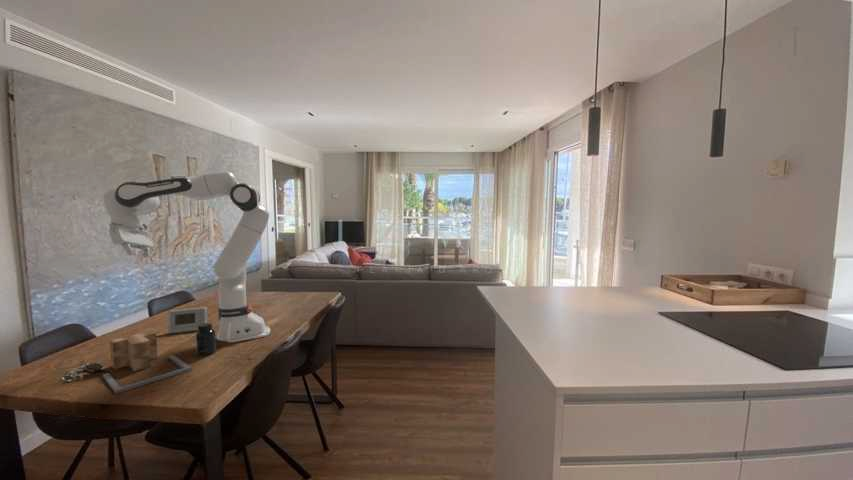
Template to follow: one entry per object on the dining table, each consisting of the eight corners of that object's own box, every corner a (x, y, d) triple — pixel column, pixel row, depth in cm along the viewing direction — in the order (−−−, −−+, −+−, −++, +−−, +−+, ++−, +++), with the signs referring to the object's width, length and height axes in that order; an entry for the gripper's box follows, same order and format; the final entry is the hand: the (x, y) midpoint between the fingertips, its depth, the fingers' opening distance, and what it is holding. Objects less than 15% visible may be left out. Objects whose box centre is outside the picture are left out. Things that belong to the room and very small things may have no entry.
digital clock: (165, 334, 165) (164, 312, 164) (175, 328, 174) (173, 307, 173) (203, 332, 168) (202, 310, 168) (210, 326, 177) (209, 305, 176)
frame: (173, 357, 138) (173, 355, 138) (191, 370, 127) (191, 367, 127) (103, 377, 122) (102, 374, 122) (115, 393, 110) (115, 390, 110)
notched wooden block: (154, 354, 141) (152, 330, 140) (164, 362, 133) (162, 337, 133) (111, 365, 131) (109, 340, 130) (119, 375, 123) (117, 347, 122)
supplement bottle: (202, 349, 146) (201, 322, 145) (219, 349, 146) (218, 321, 146) (193, 356, 139) (191, 327, 138) (210, 355, 140) (209, 326, 139)
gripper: (117, 218, 135) (130, 250, 134) (150, 227, 155) (162, 255, 154) (99, 224, 134) (112, 256, 133) (136, 233, 154) (147, 261, 153)
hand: (139, 256), depth 143 cm, fingers open, 8 cm apart
